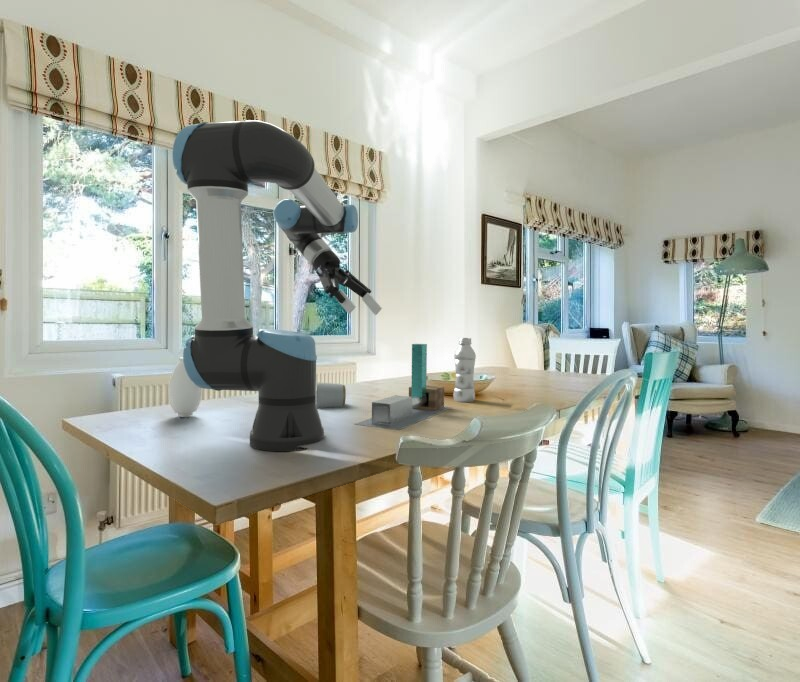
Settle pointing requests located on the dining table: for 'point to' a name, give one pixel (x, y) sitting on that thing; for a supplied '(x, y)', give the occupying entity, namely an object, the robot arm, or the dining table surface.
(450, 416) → the dining table surface
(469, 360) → the plastic bottle
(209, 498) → the dining table surface
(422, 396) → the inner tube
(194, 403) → the white vase
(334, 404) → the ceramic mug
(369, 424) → the base board
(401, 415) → the sleeve
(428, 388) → the socket block
